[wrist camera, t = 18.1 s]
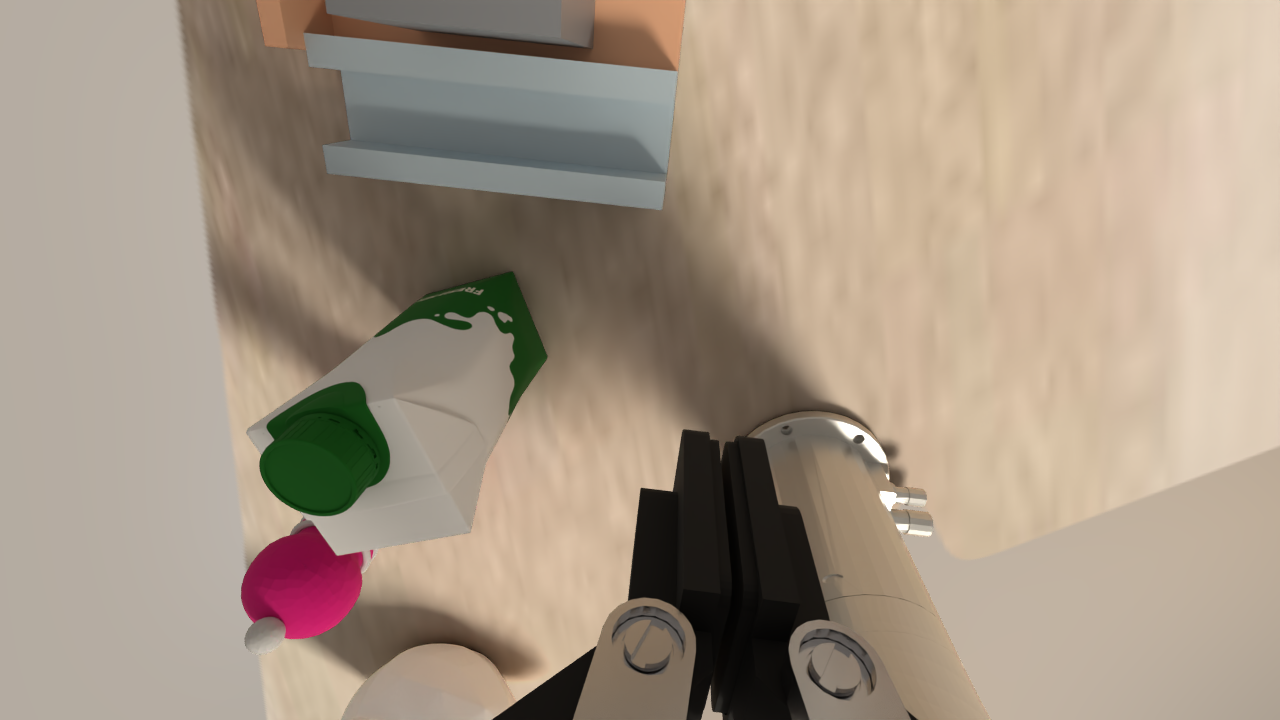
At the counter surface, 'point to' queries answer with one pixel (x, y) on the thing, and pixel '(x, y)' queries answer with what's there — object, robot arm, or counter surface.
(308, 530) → the pepper mill
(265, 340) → the counter surface
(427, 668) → the decorative rooster
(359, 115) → the rack
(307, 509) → the milk carton
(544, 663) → the counter surface
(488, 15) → the panel
